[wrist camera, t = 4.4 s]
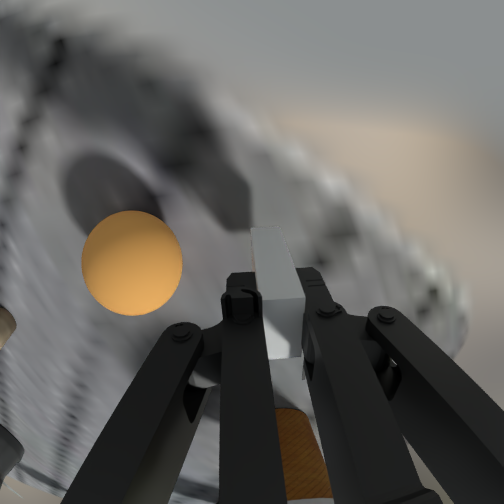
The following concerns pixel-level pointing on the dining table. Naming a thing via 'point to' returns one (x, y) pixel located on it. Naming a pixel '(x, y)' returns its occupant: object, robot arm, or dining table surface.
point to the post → (6, 326)
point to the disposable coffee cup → (302, 460)
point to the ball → (131, 263)
